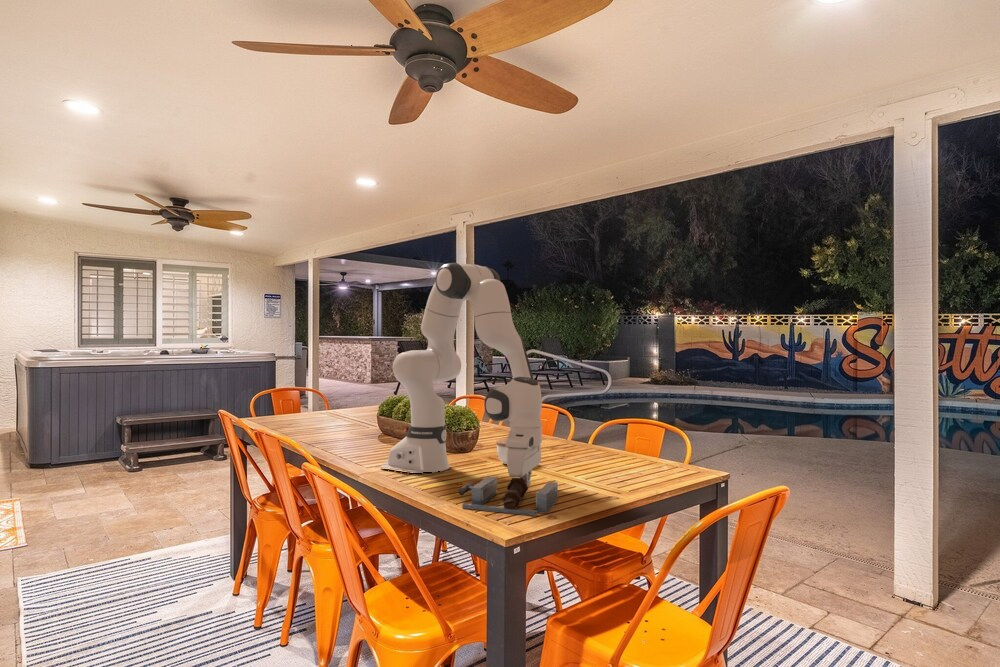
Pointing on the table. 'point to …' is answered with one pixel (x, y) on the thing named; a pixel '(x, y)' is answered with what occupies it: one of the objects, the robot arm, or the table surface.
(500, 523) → the table surface
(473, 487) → the jaw
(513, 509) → the vise
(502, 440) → the lidded jar
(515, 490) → the bolt
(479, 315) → the robot arm
